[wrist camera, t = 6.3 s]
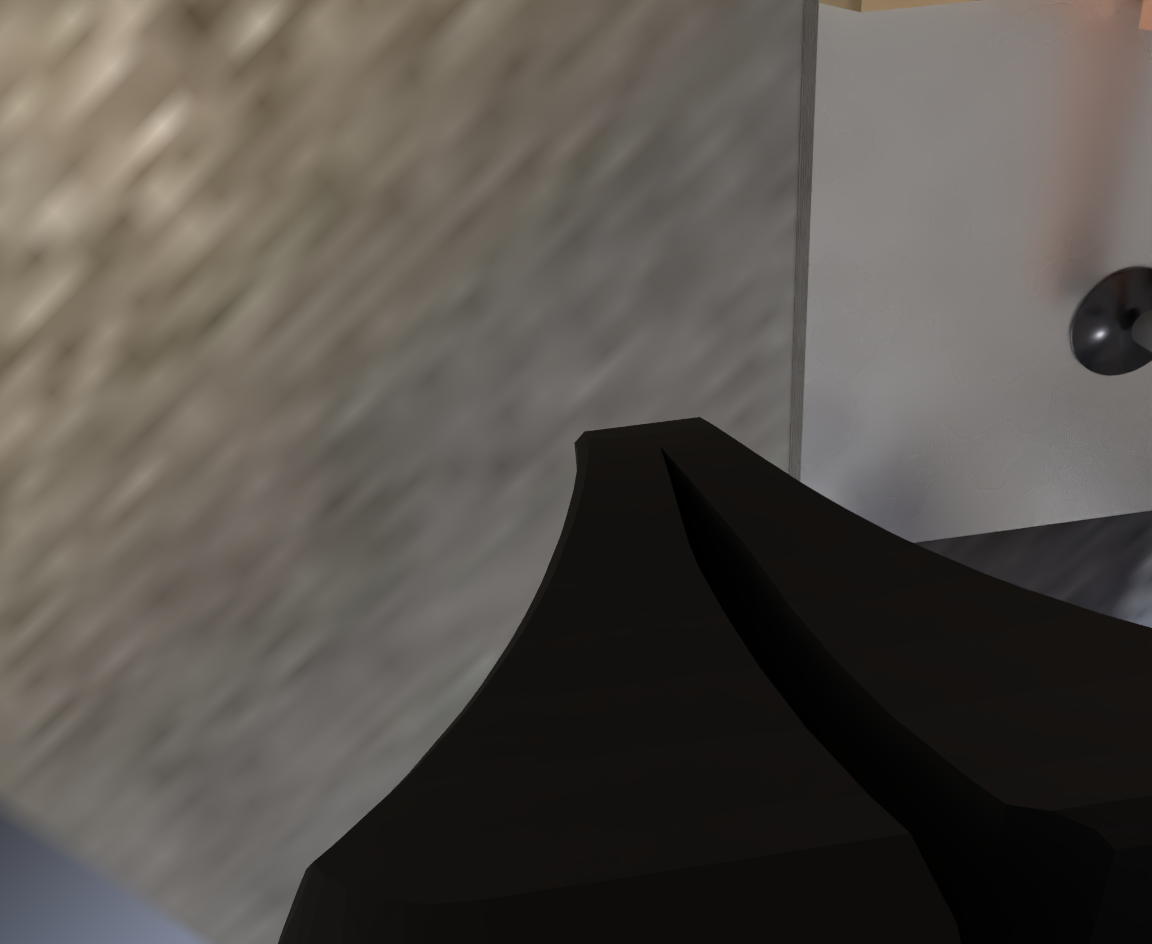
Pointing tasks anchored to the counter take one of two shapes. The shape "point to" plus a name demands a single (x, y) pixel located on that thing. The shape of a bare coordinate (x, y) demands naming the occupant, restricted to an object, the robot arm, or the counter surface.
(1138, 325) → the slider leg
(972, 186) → the flange plate
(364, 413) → the counter surface
